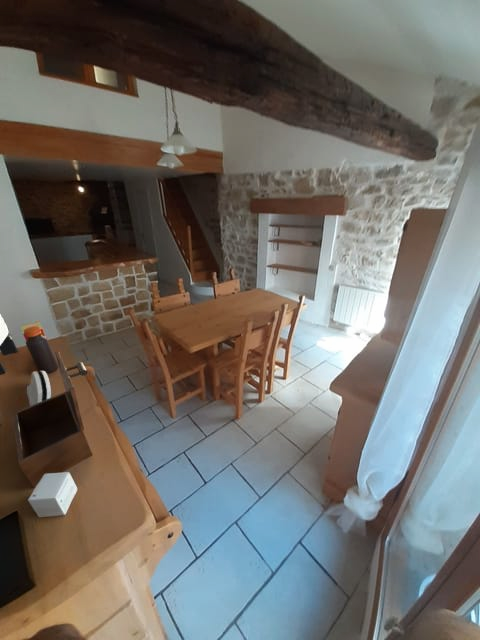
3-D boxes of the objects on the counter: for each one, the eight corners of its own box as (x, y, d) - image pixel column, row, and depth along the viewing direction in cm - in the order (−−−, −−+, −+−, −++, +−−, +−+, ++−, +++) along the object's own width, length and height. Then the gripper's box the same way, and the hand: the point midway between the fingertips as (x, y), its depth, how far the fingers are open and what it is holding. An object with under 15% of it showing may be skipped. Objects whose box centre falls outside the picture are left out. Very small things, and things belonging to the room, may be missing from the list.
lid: (69, 387, 62) (94, 379, 65) (54, 351, 76) (75, 346, 79) (80, 431, 68) (102, 421, 71) (65, 390, 82) (84, 384, 85)
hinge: (26, 390, 96) (28, 366, 94) (42, 387, 99) (44, 365, 97) (32, 415, 85) (34, 390, 83) (49, 412, 88) (52, 387, 86)
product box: (65, 516, 59) (55, 498, 56) (38, 518, 59) (26, 500, 55) (78, 488, 65) (69, 471, 61) (53, 490, 64) (43, 473, 61)
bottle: (60, 363, 111) (44, 323, 102) (56, 373, 105) (39, 331, 96) (41, 367, 109) (23, 326, 100) (37, 376, 103) (17, 334, 94)
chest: (33, 488, 65) (18, 464, 60) (25, 435, 78) (13, 412, 74) (92, 455, 73) (83, 431, 68) (76, 412, 87) (67, 391, 82)
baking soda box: (54, 359, 114) (42, 328, 107) (36, 364, 110) (22, 333, 103) (51, 350, 120) (39, 320, 113) (34, 355, 117) (20, 325, 109)
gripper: (-35, 291, 61) (-2, 349, 69) (-77, 320, 47) (-30, 390, 55) (4, 286, 64) (31, 343, 71) (-25, 312, 50) (12, 379, 57)
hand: (4, 363), depth 63 cm, fingers open, 9 cm apart
